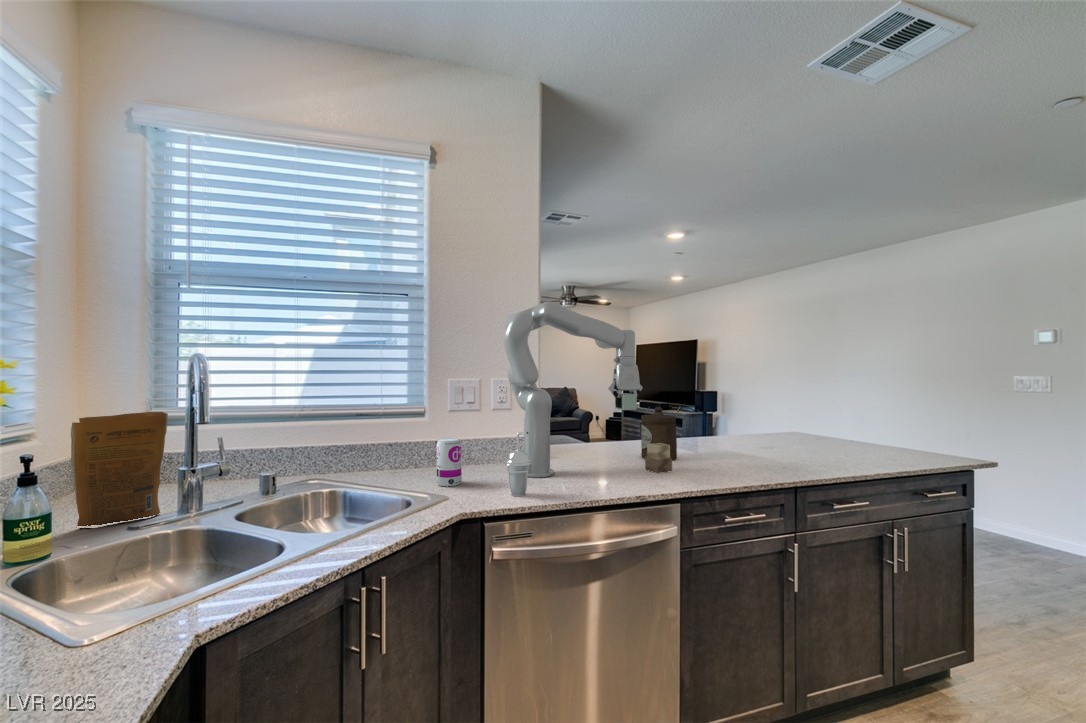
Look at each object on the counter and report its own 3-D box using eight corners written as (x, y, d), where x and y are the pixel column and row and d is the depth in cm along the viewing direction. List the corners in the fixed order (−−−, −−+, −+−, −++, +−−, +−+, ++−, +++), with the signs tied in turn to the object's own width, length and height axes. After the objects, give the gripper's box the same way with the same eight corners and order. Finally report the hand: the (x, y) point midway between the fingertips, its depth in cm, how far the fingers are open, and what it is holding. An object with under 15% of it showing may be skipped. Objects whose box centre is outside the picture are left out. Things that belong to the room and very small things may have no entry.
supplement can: (466, 483, 165) (466, 439, 165) (446, 488, 159) (446, 442, 159) (451, 480, 170) (451, 437, 171) (431, 484, 164) (431, 439, 165)
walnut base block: (656, 473, 180) (656, 460, 180) (645, 470, 187) (645, 456, 187) (671, 471, 183) (671, 458, 183) (659, 468, 190) (659, 455, 190)
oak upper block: (657, 459, 181) (657, 446, 181) (647, 457, 186) (647, 443, 187) (670, 458, 184) (670, 445, 184) (659, 455, 189) (659, 442, 189)
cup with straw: (530, 490, 156) (529, 427, 156) (534, 498, 147) (534, 431, 147) (503, 491, 154) (503, 428, 154) (506, 499, 145) (505, 432, 145)
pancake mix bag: (170, 516, 130) (170, 411, 130) (70, 535, 116) (70, 417, 116) (165, 511, 134) (165, 410, 135) (68, 528, 120) (69, 415, 121)
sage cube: (623, 410, 188) (623, 394, 188) (615, 408, 193) (615, 393, 193) (636, 409, 190) (636, 394, 190) (627, 408, 196) (627, 393, 196)
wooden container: (640, 454, 218) (640, 405, 218) (674, 455, 216) (674, 405, 216) (642, 461, 204) (642, 408, 204) (679, 461, 202) (678, 408, 202)
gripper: (612, 361, 185) (612, 409, 184) (649, 361, 192) (649, 407, 192) (601, 361, 191) (602, 407, 191) (637, 361, 199) (638, 405, 199)
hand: (625, 406), depth 192 cm, fingers closed on sage cube, 6 cm apart
